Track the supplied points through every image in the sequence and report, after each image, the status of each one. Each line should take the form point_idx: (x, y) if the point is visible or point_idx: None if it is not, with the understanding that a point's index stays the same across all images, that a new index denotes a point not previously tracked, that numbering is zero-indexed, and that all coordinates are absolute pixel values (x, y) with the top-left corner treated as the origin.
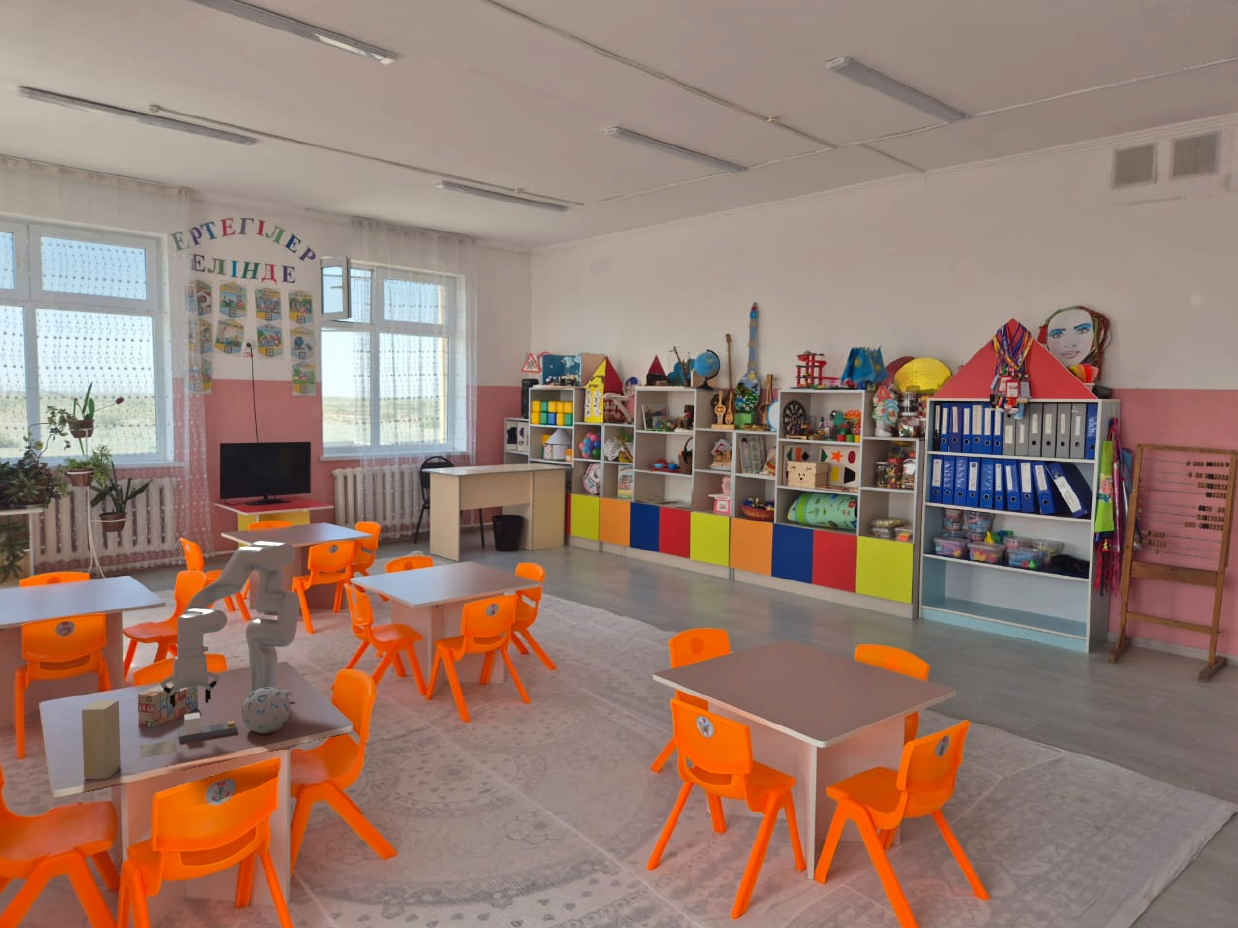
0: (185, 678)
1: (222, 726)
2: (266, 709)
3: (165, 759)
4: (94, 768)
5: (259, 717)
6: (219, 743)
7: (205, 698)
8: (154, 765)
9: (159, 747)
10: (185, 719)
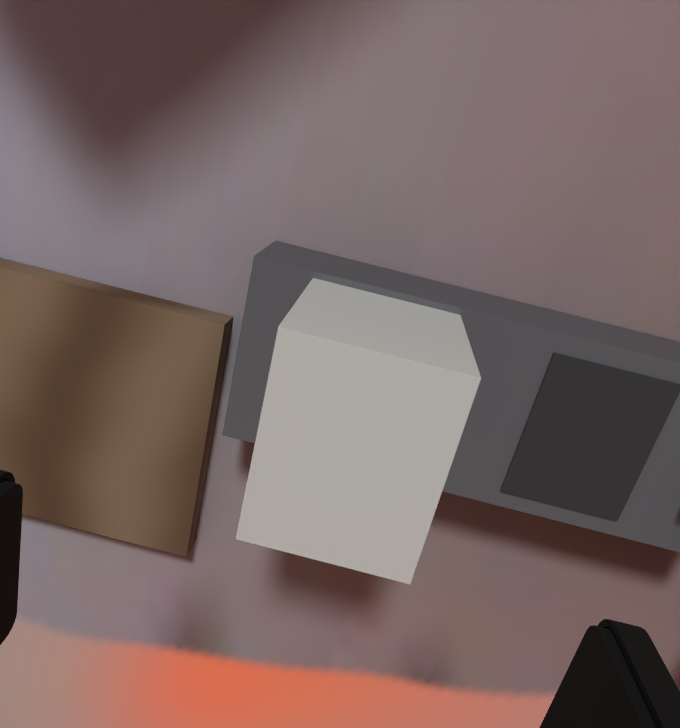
0: None
1: (639, 470)
2: None
3: (114, 572)
4: None
5: None
6: (504, 563)
7: (587, 712)
8: (43, 611)
9: (85, 402)
10: (246, 515)
